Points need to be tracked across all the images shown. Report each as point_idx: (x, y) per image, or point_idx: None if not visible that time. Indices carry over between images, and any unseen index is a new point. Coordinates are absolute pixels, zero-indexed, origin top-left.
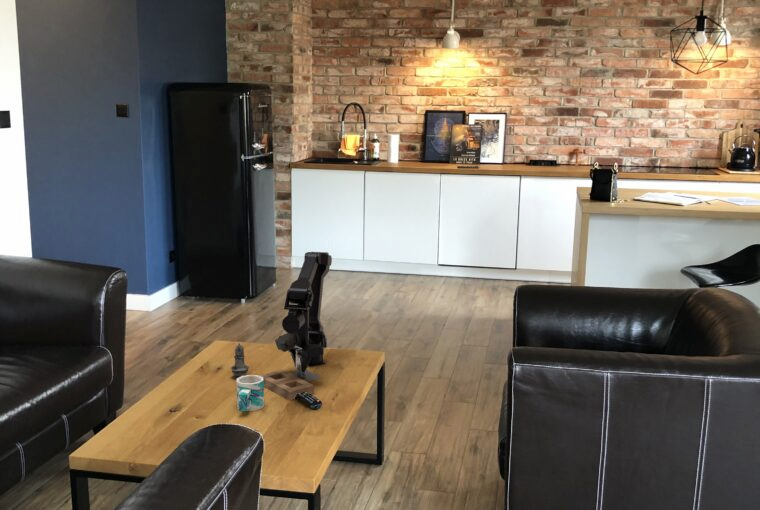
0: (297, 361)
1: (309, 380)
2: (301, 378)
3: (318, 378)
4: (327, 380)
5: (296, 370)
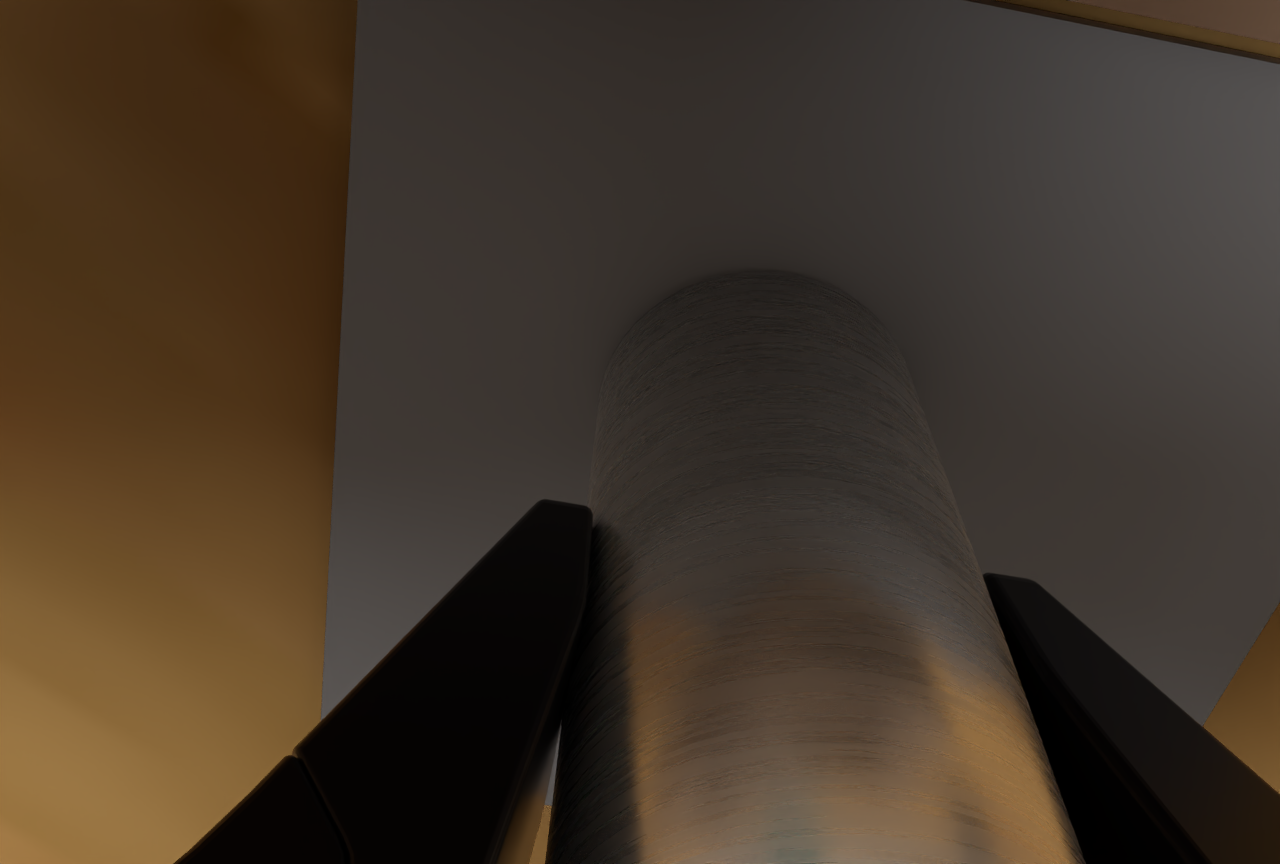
0: (816, 817)
1: (373, 432)
2: (621, 349)
3: (331, 673)
4: (122, 725)
5: (847, 444)
